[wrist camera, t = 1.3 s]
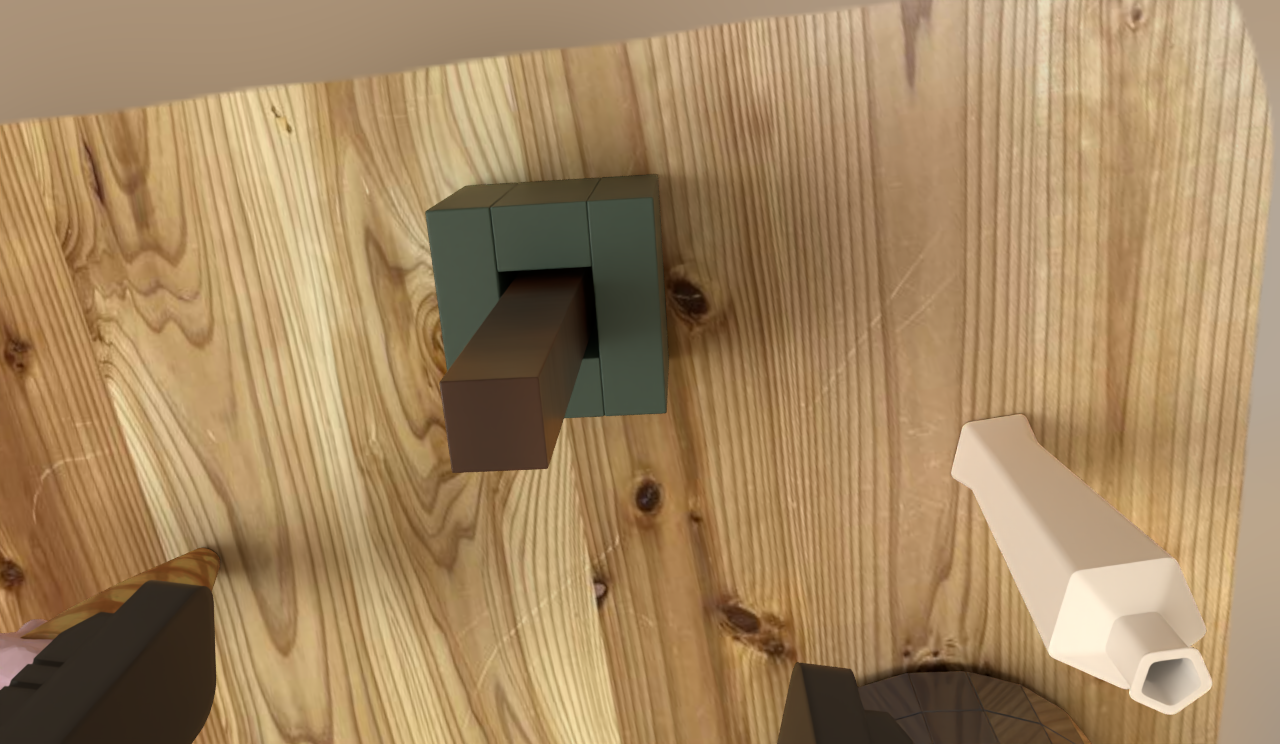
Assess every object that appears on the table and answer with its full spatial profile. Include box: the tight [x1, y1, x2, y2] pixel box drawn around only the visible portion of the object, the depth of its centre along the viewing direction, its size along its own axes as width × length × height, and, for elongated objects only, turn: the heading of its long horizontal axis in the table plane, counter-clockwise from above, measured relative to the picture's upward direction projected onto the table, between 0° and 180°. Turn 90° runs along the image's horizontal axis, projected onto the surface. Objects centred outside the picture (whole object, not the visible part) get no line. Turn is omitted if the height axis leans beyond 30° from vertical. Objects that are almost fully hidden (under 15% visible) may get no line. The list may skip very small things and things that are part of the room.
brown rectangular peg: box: [439, 266, 596, 473], centre depth 30 cm, size 2×2×16 cm
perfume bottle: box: [951, 414, 1212, 715], centre depth 33 cm, size 5×4×15 cm
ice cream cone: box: [0, 548, 220, 690], centre depth 36 cm, size 7×6×15 cm
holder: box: [425, 174, 669, 418], centre depth 35 cm, size 8×8×6 cm
